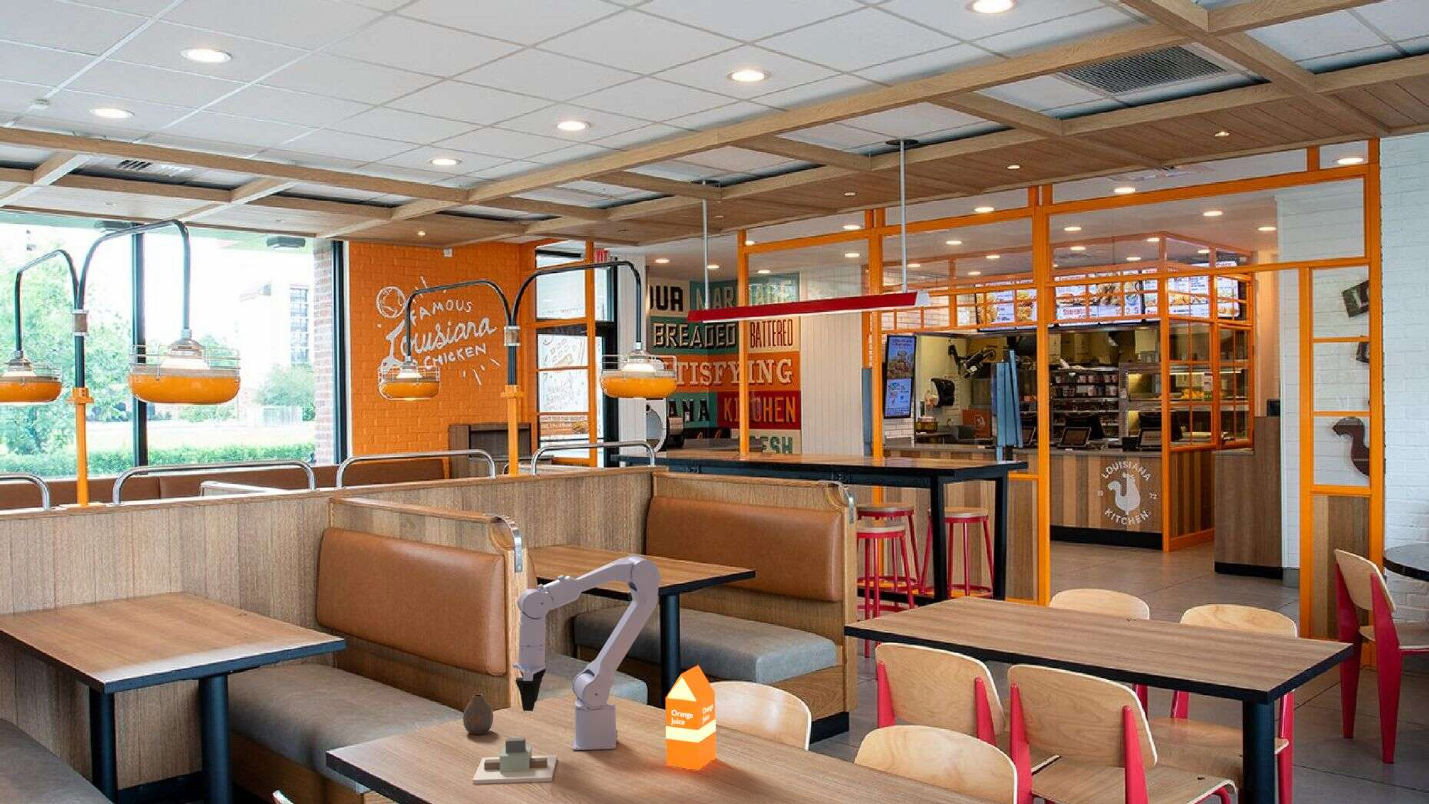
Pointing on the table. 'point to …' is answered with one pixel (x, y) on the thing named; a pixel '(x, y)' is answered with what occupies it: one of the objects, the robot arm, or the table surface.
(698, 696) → the orange juice
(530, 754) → the sage slotted block
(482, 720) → the vase
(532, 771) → the board
